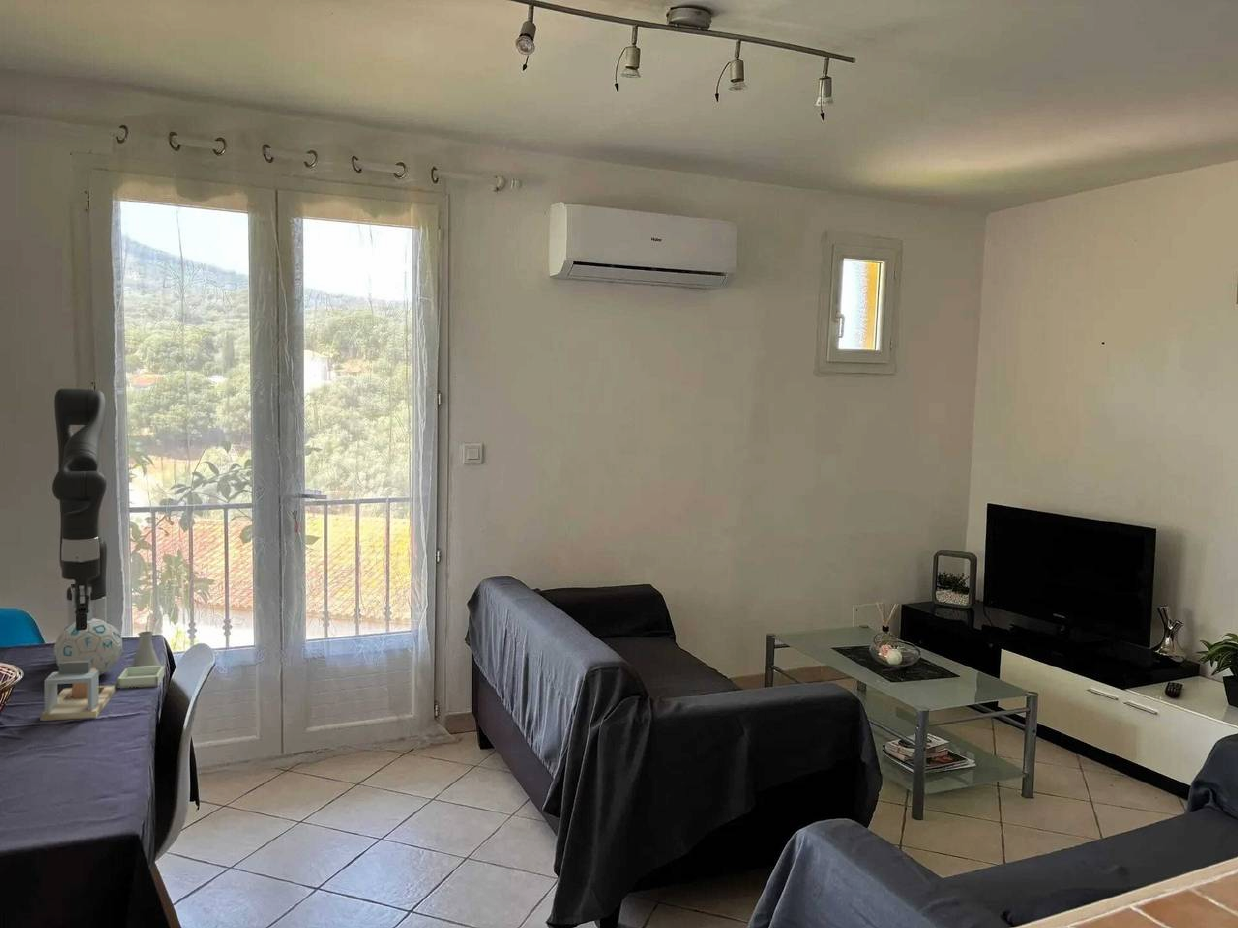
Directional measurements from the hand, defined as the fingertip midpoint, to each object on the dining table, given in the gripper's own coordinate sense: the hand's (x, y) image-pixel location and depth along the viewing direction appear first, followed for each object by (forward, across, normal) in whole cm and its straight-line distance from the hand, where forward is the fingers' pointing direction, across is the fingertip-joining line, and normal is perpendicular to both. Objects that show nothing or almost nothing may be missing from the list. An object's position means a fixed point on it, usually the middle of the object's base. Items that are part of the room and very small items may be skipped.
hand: (81, 629), depth 204 cm
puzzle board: (+18, 0, -1) cm, 18 cm away
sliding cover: (+16, +6, -2) cm, 17 cm away
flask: (+19, -21, +15) cm, 32 cm away
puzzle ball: (+19, -22, +2) cm, 29 cm away
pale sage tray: (+18, -12, +13) cm, 25 cm away
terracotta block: (+18, -4, +1) cm, 19 cm away
